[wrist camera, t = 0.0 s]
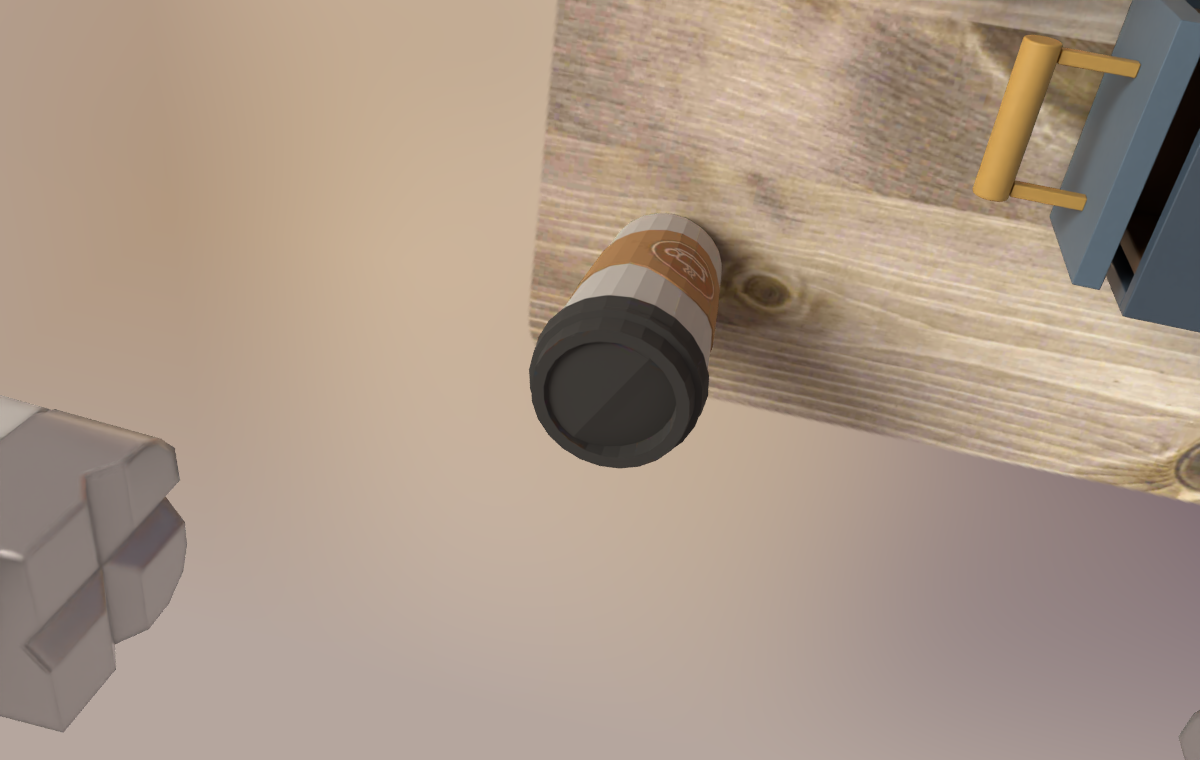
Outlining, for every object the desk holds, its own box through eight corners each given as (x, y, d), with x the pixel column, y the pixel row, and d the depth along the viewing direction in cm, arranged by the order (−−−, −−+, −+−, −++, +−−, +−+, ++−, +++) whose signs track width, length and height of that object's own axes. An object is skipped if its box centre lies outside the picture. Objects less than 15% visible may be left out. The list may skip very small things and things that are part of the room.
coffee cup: (772, 258, 58) (741, 401, 46) (677, 353, 63) (625, 507, 50) (655, 161, 57) (590, 281, 45) (566, 265, 62) (485, 401, 49)
